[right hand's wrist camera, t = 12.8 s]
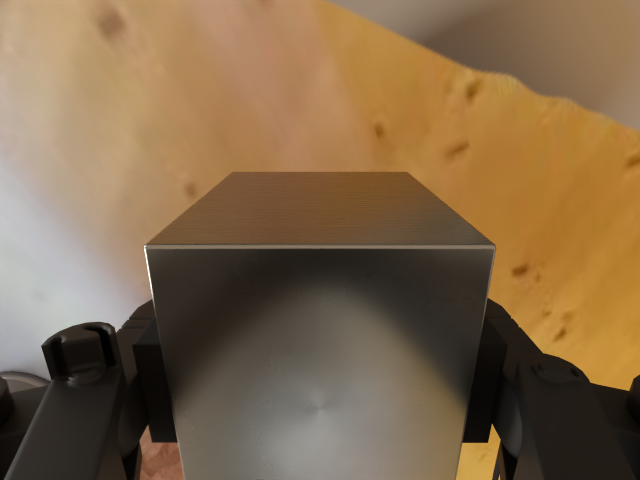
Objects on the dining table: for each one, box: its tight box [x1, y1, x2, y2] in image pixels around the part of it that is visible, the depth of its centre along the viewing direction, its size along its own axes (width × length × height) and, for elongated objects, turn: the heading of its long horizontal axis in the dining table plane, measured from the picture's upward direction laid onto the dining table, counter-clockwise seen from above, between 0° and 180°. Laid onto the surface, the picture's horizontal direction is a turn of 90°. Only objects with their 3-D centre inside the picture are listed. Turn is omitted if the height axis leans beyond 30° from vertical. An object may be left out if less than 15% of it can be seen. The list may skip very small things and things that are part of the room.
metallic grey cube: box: [144, 172, 496, 480], centre depth 11 cm, size 6×7×7 cm
